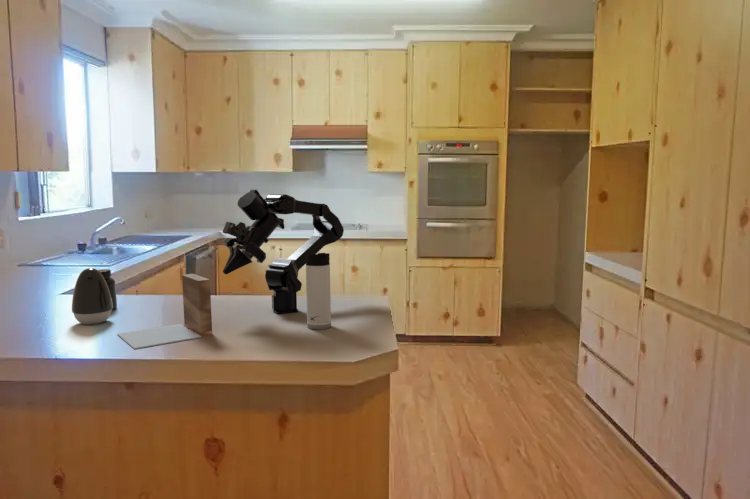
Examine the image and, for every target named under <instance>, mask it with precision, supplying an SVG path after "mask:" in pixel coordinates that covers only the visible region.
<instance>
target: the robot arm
mask: <svg viewBox="0 0 750 499" xmlns="http://www.w3.org/2000/svg"><path fill="white" fill-rule="evenodd" d="M237 206H238V207H239V209H240V210H241V211H242V212H243V213H244V214H245V215H246V216H247V217H248V219H249V220H251V221H253V223H252V224H251V225H247V226H246V223H245V222H242V221H237V222H236V223H235V222H231V221H226V222H225V223H224V226H223V229H222V233H224V234H227V235H230V236H232V237H226V239H225V240H224V241H223V242H222V243H223V245H224V246H225V247H227V248H228V249H229V257H228V259H227V261H226V263H225V266H224V268H223V270H222V273H223V274H224V275H228V274H230V273H232V272H235V271H236V270H238V269H241V268H243V267H245V266H247V265H249V264H252V263H253V261H252V259H253V258H255V259H256V263H258V264H263V262H264V261H265V260H267V253H266V252H265V251H264V250H263V249H261V246H262V245H264V243H265V244H267V243H268V242H269V241H270V240H269V237H270V236H271V235H272V233H273V232H274V231H275V230H276V229H277V228H279V229H281V230H285V219H284V218H281V217H278V215H292V214H300V215H311V216H312V225H313V228H314V229H313V235H312V236H311V237H310V238H308V239H307V240H306V241H305V242H304V243H303V244H302V245H301V246H300V247H299V248H297V249H296V250H295V251H294V252H293V253H292V254H291V255H289V257H288V258H280V257H279V258H276V259H274V261H273V262H272V263H271V264H268V268H267V269H266V270H265V275H264V276H265V277H264V278H265V281H266V284H267V287H268V290H269V291H273V295H271V309H272V310H273V311H274V312H275V313H276V314H287V313H297V312H299V309H298V305H297V302H298V301H297V300H298V299H297V297H298V296H297V293H298V292H300V291H301V290H302V285H303V283H302V282H301V281H300V280H299V279H298V276H299V270H301V269H302V268H303V267H304V266H306V255H309V254H311V255H315V254H318V253H320V251H321V250H322V249H323V248H324V247H326V246H328V245H330V244H333V243H335V242H338V241H339V240H340V239H341V238H342V237H343V235H344V232H345V231H344V225H343V224H342V222H341V220H340V218H339V217H338V216H337V215H336V214H335V213H333V211H331V209H330V207H329V206H328V205H327V204H326V203H317V202H308V201H303V200H298V199H296V198H295V197H293V196H291V195H290V194H284V193H282V194H280V193H278V194H276V193H275V194H274V193H273V194H272V193H270V194H267V196H266V197H265V198H263V196H262V195H261V194H260V192H259V191H258V190H257V189H256V188H255V189H254V188H253V189H250V191H249V192H246V193H245V194H243V195H242V196H240V198H238V201H237ZM321 217H323V219H324V220H321Z"/></svg>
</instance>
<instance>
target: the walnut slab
mask: <svg viewBox="0 0 750 499" xmlns="http://www.w3.org/2000/svg"><path fill="white" fill-rule="evenodd" d="M181 283H182V299H183V300H182V301H183V318H184V320H183V322H184V325H183V326H185V327H186V328H189V329H190V330H192V331H194V332H195V333H197V334H198V335H200V336H202V337H203V336H208V335H212V334H213V324H212V322H213V321H212V320H213V319H212V317H213V316H212V300H211V299H212V298H211V280H210V279H209V278H206V277H204V276H201V275H199V274H195V273H187V274H181Z"/></svg>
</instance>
